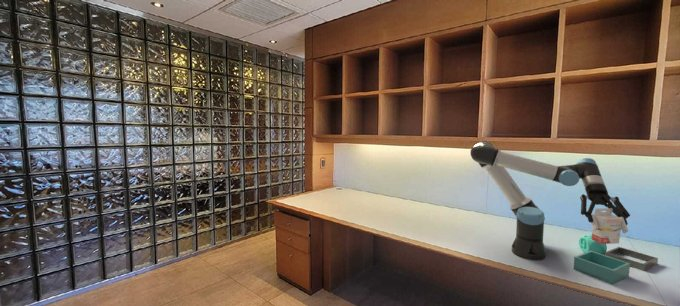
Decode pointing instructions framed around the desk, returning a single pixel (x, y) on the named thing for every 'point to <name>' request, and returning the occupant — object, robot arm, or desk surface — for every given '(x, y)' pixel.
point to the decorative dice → (591, 245)
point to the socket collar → (641, 266)
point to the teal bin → (602, 267)
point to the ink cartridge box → (607, 227)
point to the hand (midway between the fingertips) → (610, 230)
